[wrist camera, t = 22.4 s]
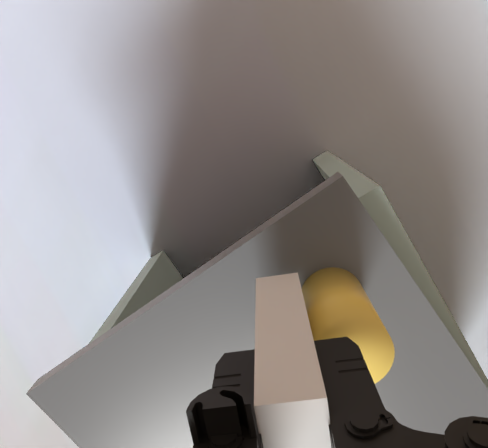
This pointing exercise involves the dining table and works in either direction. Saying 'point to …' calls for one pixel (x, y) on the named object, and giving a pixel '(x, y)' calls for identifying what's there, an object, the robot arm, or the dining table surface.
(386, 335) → the cover
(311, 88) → the dining table surface
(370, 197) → the channel
